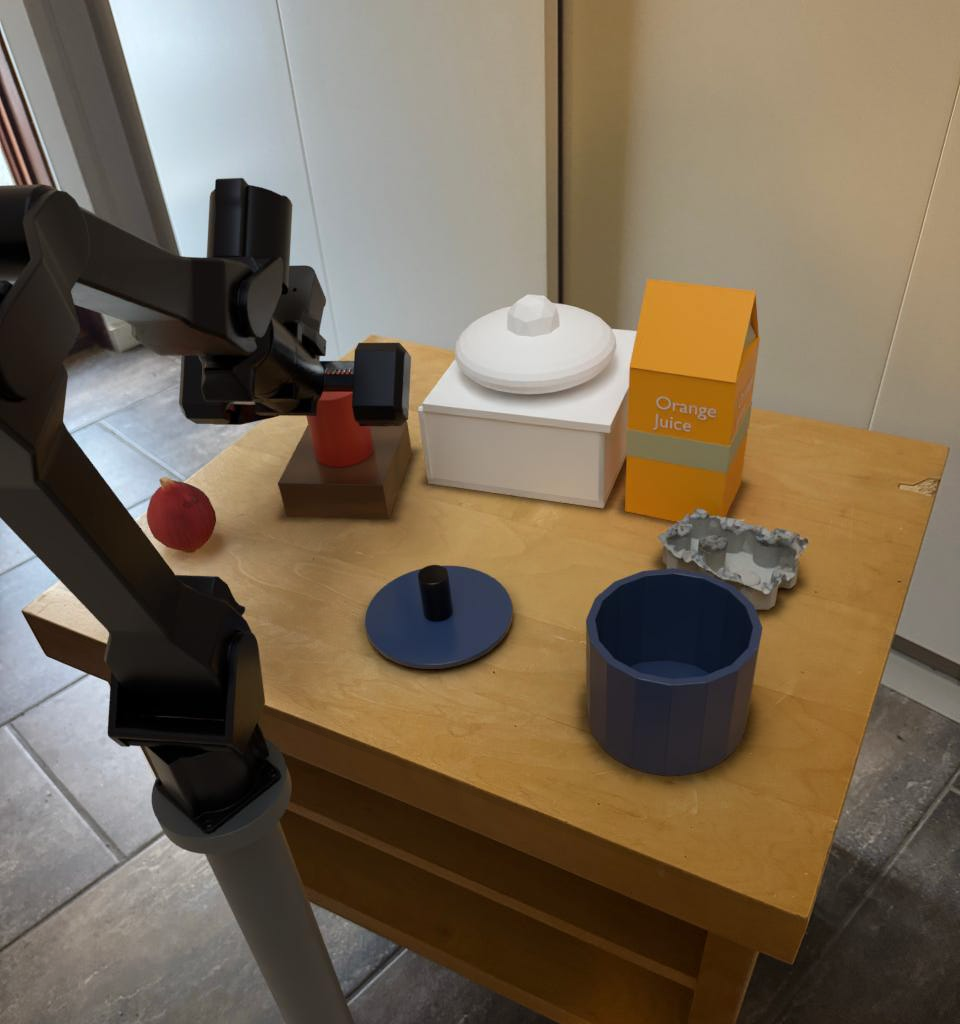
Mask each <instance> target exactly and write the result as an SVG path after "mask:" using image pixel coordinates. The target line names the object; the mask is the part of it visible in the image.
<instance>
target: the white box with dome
mask: <svg viewBox="0 0 960 1024" xmlns="http://www.w3.org/2000/svg"><path fill="white" fill-rule="evenodd" d="M636 333H637V330H630V329H629V330H628V329H618V328H612V327H611V326H610V325H609V324H607V323H606V321H604V319H602V318H601V317H600V316H598V315H596V314H595V313H593V312H590V311H588V310H586V309H583V308H580V307H578V306H573V305H569V304H565V303H564V304H563V303H557V302H552V301H551V300H550V299H549V298H548V297H546V296H545V295H542V294H541V295H540V294H529V293H527V294H526V295H525V296H523V297H521V298H520V299H518V300H517V301H516V302H514V303H513V304H512V305H510V306H506V307H503V308H499V309H497V310H493V311H491V312H489V313H487V314H486V315H485V314H484V315H483V316H481V317H479V318H478V319H476V320H474V321H472V322H471V323H470V324H469V325H468V326H467V327H466V328H465V329H464V330H463V331H462V332H461V333H460V335H459V337H458V338H457V340H456V343H455V347H454V358H455V359H454V360H453V361H452V362H451V364H450V366H449V367H448V368H446V370H445V372H444V374H443V375H442V376H441V378H440V379H439V380H438V382H437V383H436V384H435V386H434V387H433V388H432V390H431V391H430V392H429V394H428V395H427V396H426V397H425V399H424V400H423V401H422V403H421V405H419V406H418V408H417V413H418V422H419V429H420V435H421V436H420V437H421V444H422V451H423V457H424V465H425V473H426V479H427V483H428V484H430V485H437V486H444V487H451V488H458V489H463V490H464V489H465V490H471V491H478V492H485V493H493V494H498V495H499V494H500V495H507V496H514V497H519V498H520V497H522V498H528V499H535V500H541V501H542V500H543V501H549V502H555V503H563V504H571V505H577V506H583V507H591V508H598V509H604V508H605V507H606V504H607V501H608V500H609V498H610V495H611V492H612V490H613V488H614V486H615V484H616V481H617V478H618V475H619V474H620V472H621V469H622V467H623V465H624V463H625V460H626V459H627V455H626V444H627V428H628V401H629V370H630V362H631V357H632V352H633V347H634V342H635V337H636Z"/></svg>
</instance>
